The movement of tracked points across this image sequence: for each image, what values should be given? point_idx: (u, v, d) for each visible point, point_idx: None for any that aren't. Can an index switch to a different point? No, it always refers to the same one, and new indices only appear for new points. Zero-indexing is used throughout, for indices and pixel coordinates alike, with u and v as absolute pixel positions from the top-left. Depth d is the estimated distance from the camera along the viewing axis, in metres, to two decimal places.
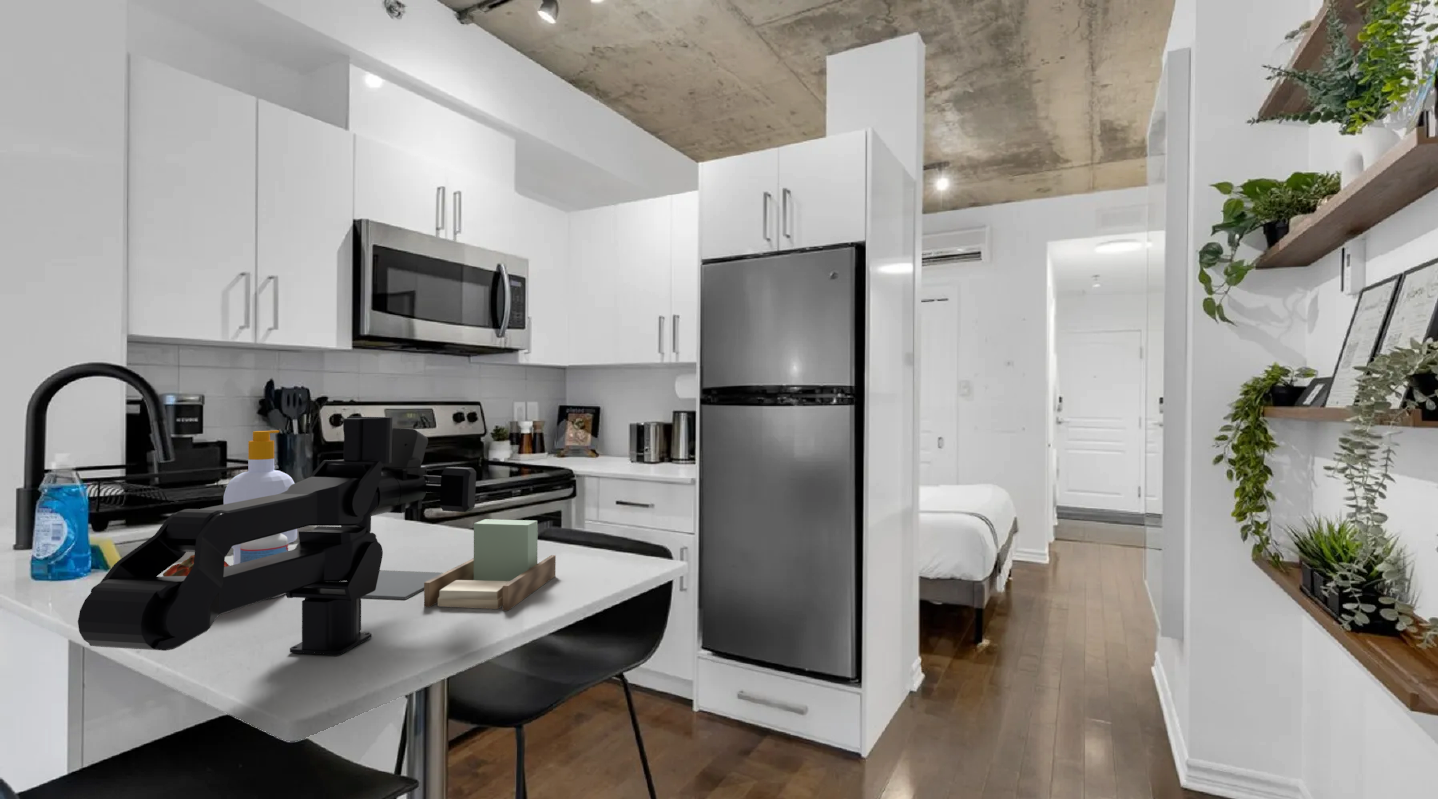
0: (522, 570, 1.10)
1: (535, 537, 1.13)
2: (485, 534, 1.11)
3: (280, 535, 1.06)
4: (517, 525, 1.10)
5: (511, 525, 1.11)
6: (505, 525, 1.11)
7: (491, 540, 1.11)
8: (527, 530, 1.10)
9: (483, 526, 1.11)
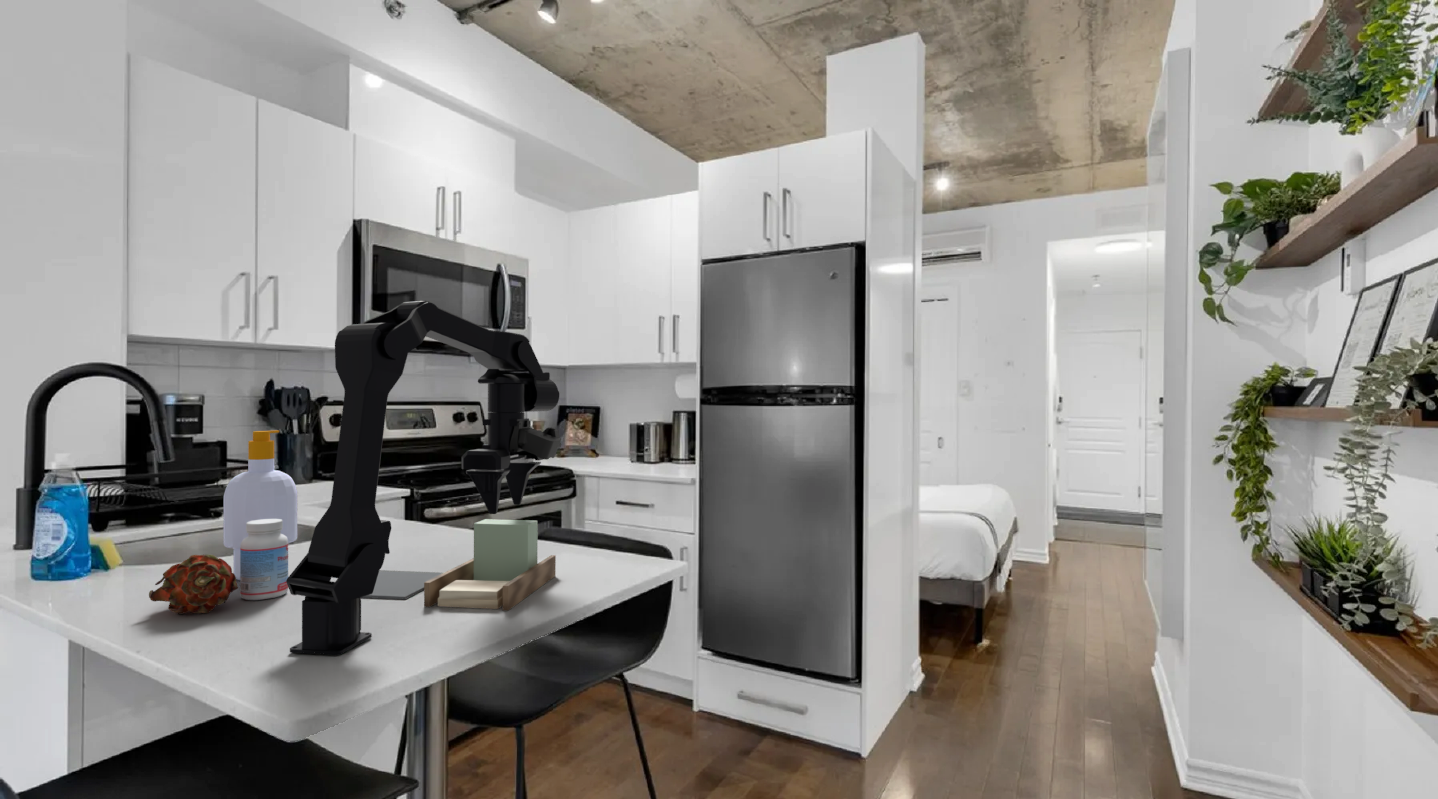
0: (522, 570, 1.10)
1: (535, 537, 1.13)
2: (485, 534, 1.11)
3: (280, 535, 1.06)
4: (517, 525, 1.10)
5: (511, 525, 1.11)
6: (505, 525, 1.11)
7: (491, 540, 1.11)
8: (527, 530, 1.10)
9: (483, 526, 1.11)
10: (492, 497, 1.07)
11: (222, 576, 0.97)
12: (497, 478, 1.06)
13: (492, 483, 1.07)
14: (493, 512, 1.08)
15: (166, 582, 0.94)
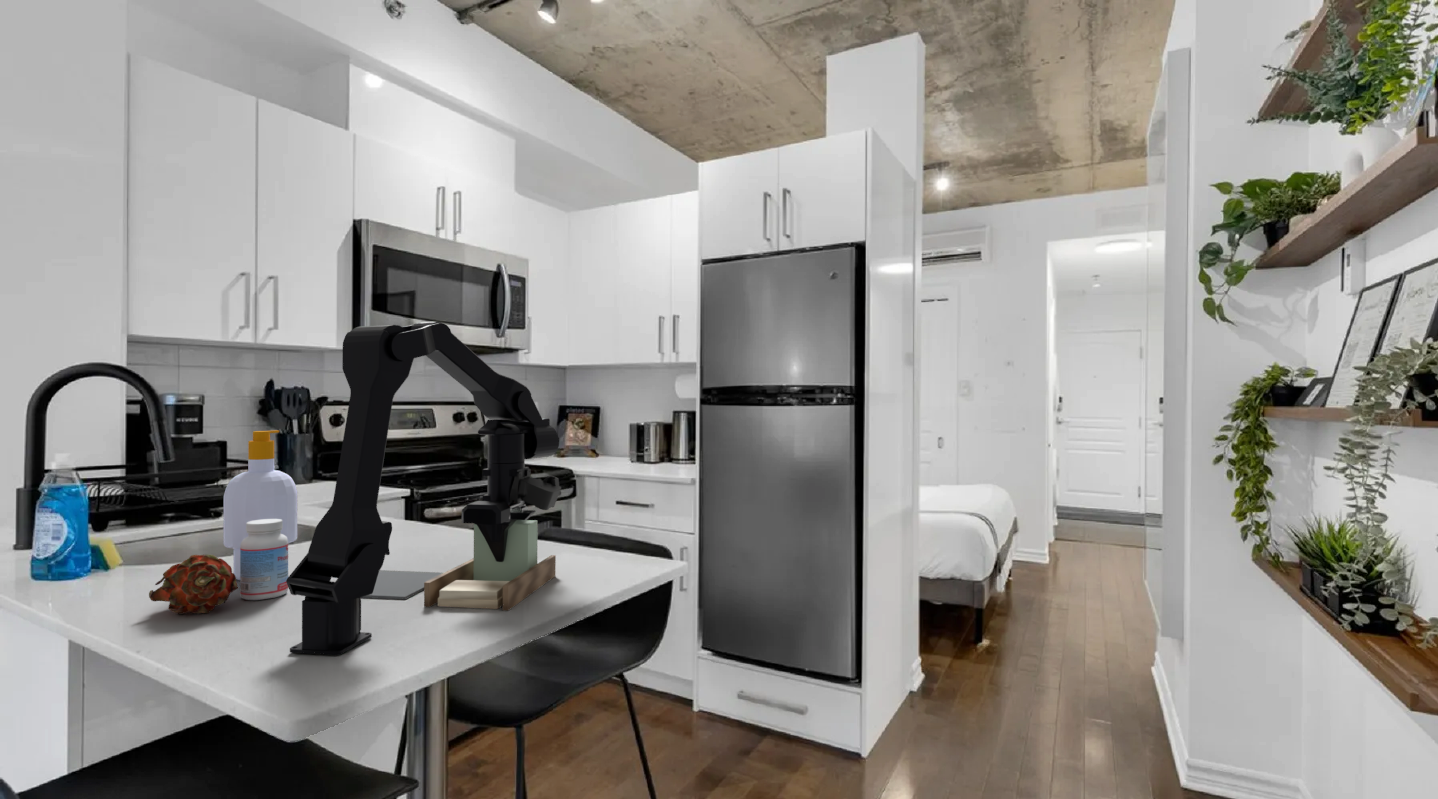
0: (521, 569, 1.10)
1: (535, 537, 1.13)
2: None
3: (280, 535, 1.06)
4: (517, 525, 1.10)
5: None
6: None
7: None
8: (527, 530, 1.10)
9: None
10: (499, 546, 1.10)
11: (222, 576, 0.97)
12: (504, 528, 1.08)
13: (499, 532, 1.09)
14: (500, 560, 1.10)
15: (166, 582, 0.94)
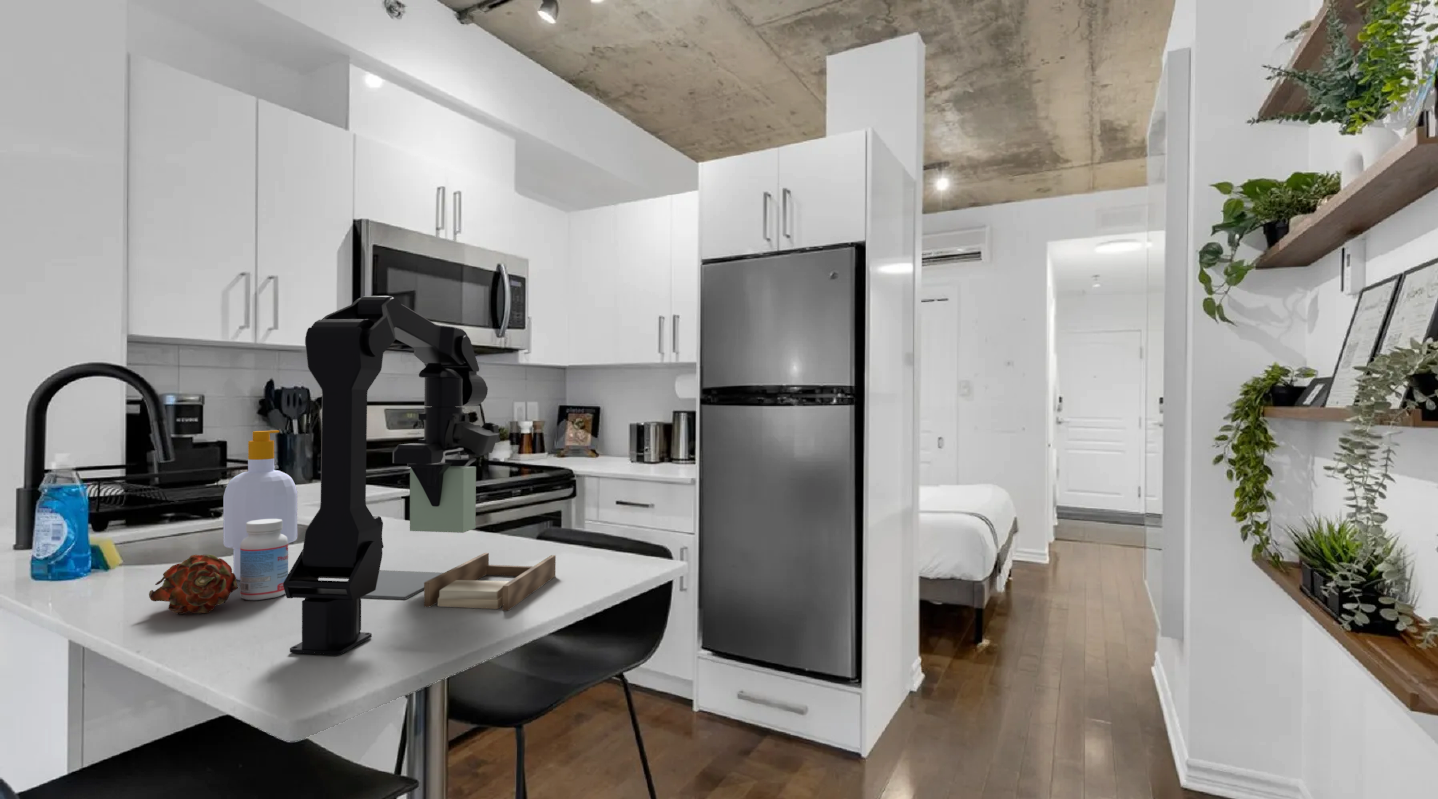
0: (457, 514, 1.09)
1: (473, 483, 1.12)
2: None
3: (280, 535, 1.06)
4: (453, 469, 1.10)
5: (447, 469, 1.10)
6: None
7: None
8: (463, 474, 1.09)
9: None
10: (434, 490, 1.09)
11: (222, 576, 0.97)
12: (438, 471, 1.07)
13: (434, 476, 1.08)
14: (435, 504, 1.09)
15: (166, 582, 0.94)
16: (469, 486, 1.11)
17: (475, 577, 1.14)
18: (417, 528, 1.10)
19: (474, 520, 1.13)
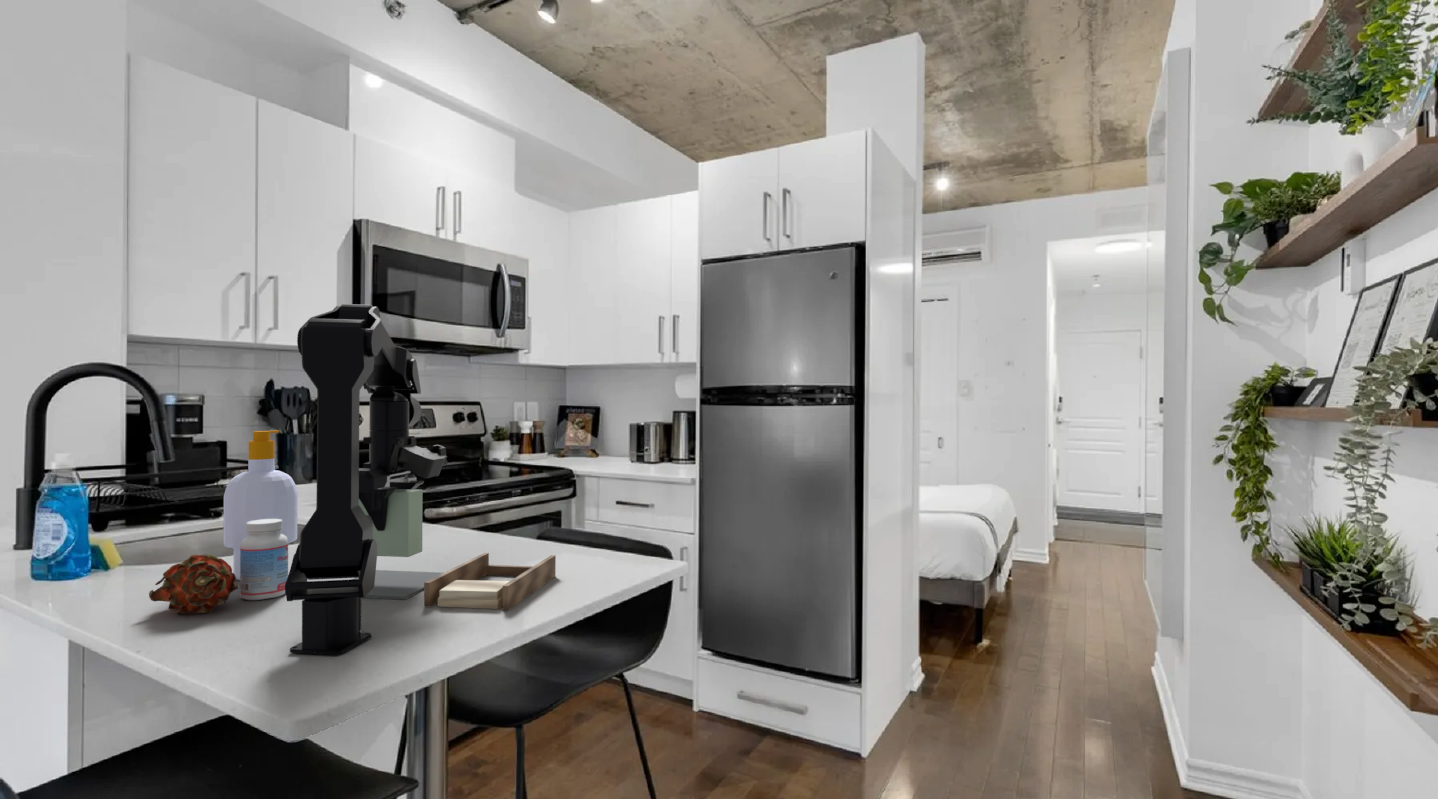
0: (402, 538, 1.09)
1: (419, 506, 1.12)
2: None
3: (280, 535, 1.06)
4: (398, 493, 1.09)
5: (392, 493, 1.09)
6: None
7: None
8: (408, 498, 1.09)
9: None
10: (379, 514, 1.08)
11: (222, 576, 0.97)
12: (382, 495, 1.07)
13: (378, 500, 1.08)
14: (380, 529, 1.09)
15: (166, 582, 0.94)
16: (415, 510, 1.11)
17: (475, 577, 1.14)
18: None
19: (421, 543, 1.12)
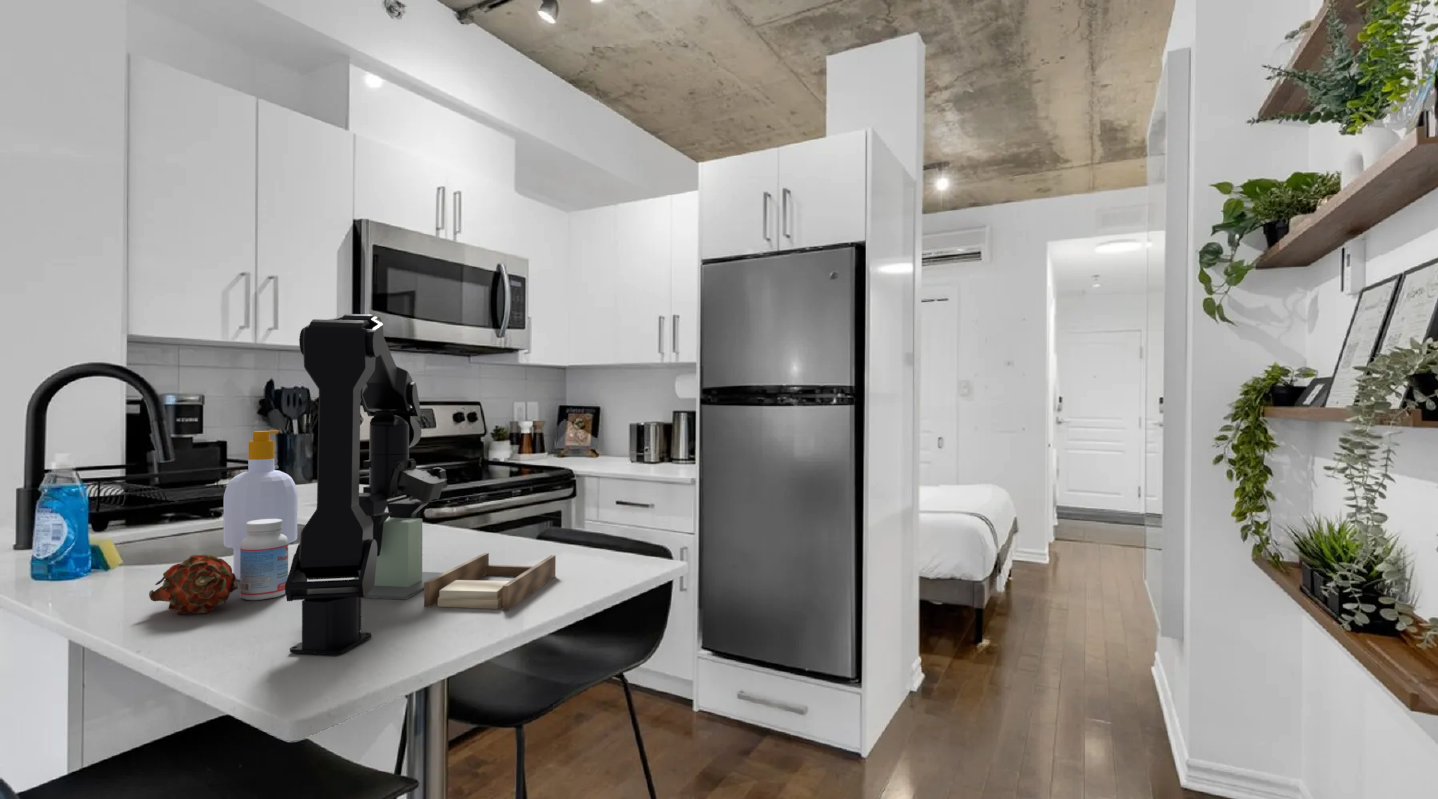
0: (402, 568, 1.09)
1: (419, 535, 1.12)
2: None
3: (280, 535, 1.06)
4: (398, 523, 1.09)
5: (392, 523, 1.09)
6: (386, 523, 1.09)
7: None
8: (408, 528, 1.09)
9: None
10: None
11: (222, 576, 0.97)
12: (377, 521, 1.06)
13: (373, 526, 1.07)
14: None
15: (166, 582, 0.94)
16: (415, 539, 1.11)
17: (475, 577, 1.14)
18: None
19: (421, 572, 1.12)
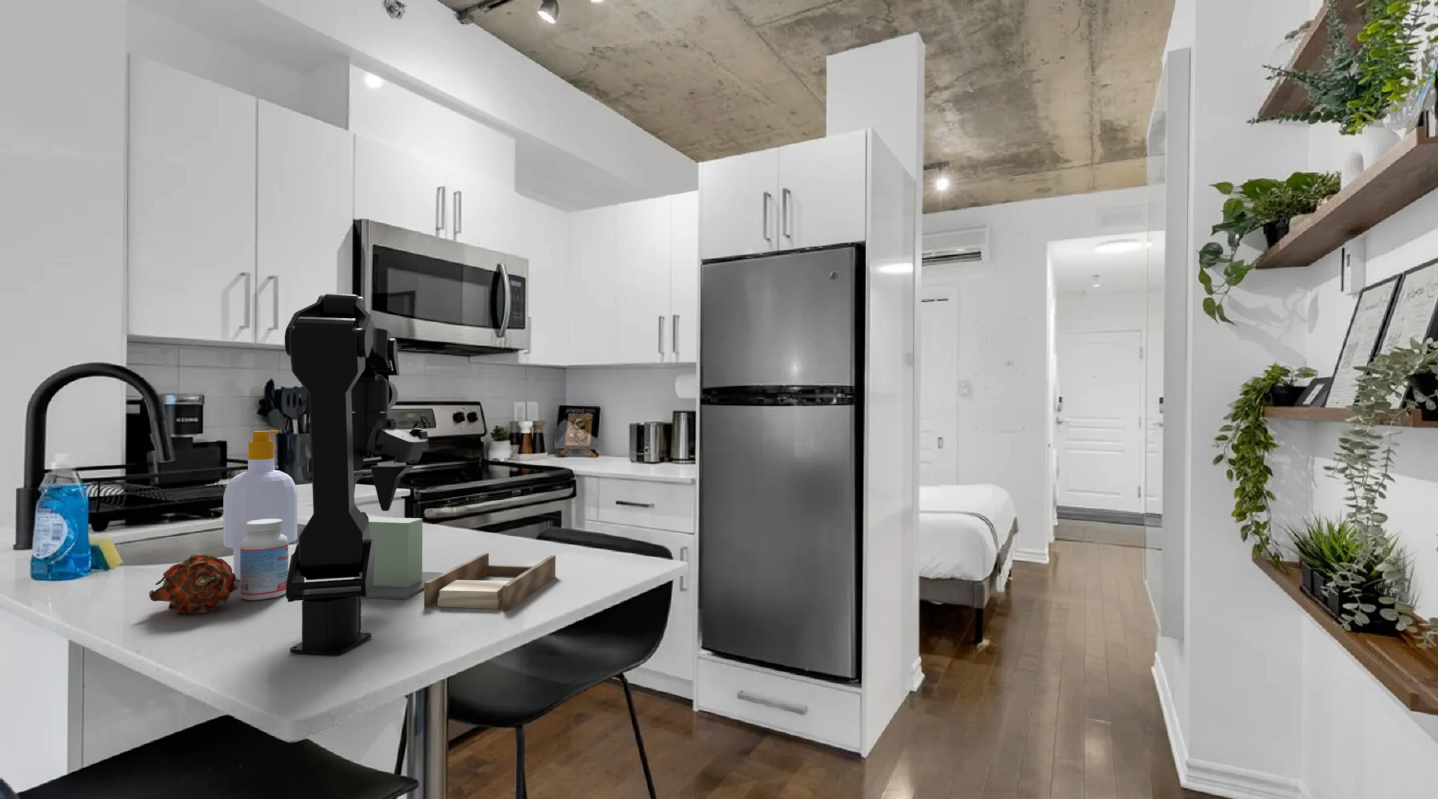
0: (402, 568, 1.09)
1: (419, 535, 1.12)
2: None
3: (280, 535, 1.06)
4: (398, 523, 1.09)
5: (392, 523, 1.09)
6: (386, 523, 1.09)
7: (372, 538, 1.10)
8: (408, 528, 1.09)
9: None
10: None
11: (222, 576, 0.97)
12: None
13: None
14: None
15: (166, 582, 0.94)
16: (415, 539, 1.11)
17: (475, 577, 1.14)
18: None
19: (421, 572, 1.12)
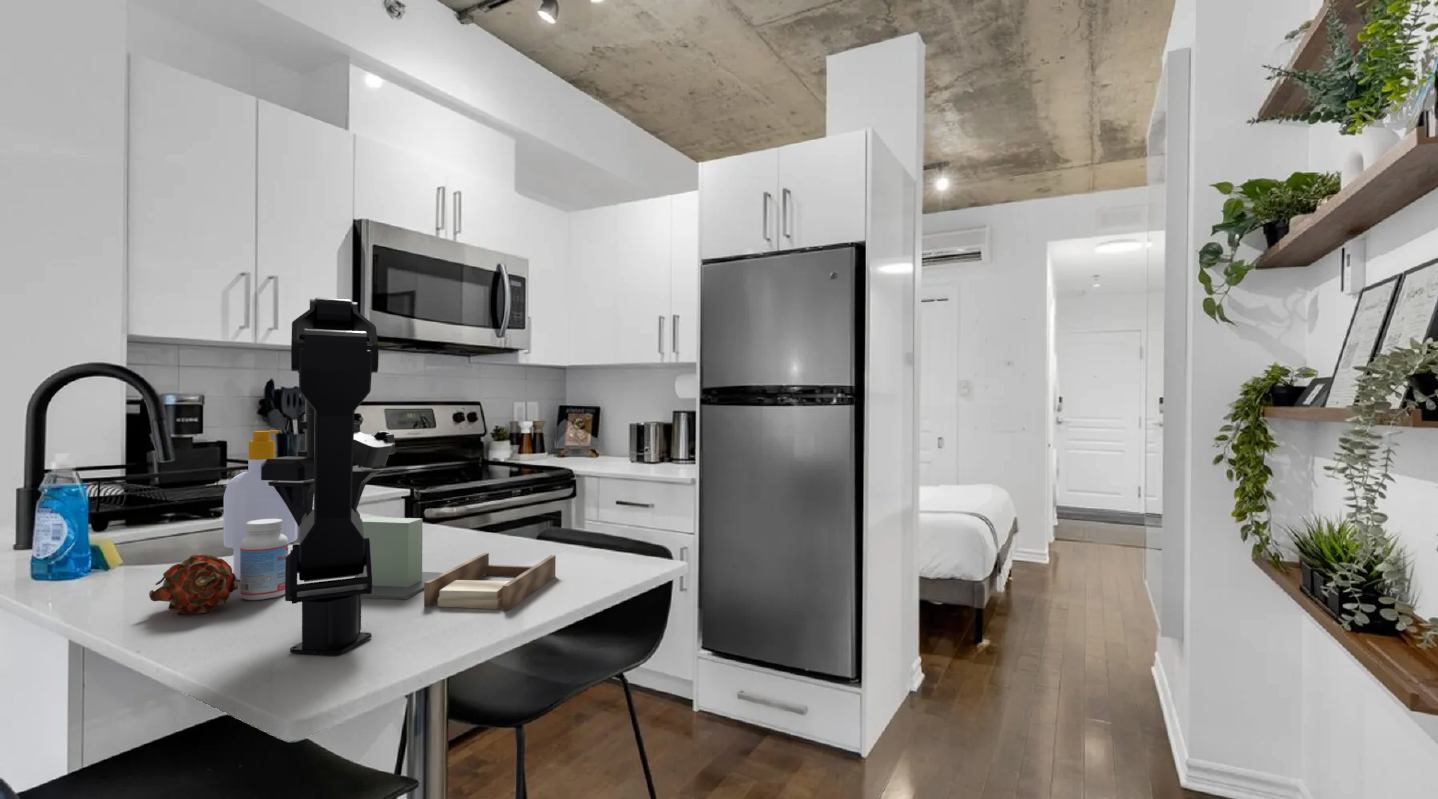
0: (402, 568, 1.09)
1: (419, 535, 1.12)
2: (366, 532, 1.10)
3: (280, 535, 1.06)
4: (398, 523, 1.09)
5: (392, 523, 1.09)
6: (386, 523, 1.09)
7: (372, 538, 1.10)
8: (408, 528, 1.09)
9: (364, 524, 1.10)
10: (302, 512, 0.93)
11: (222, 576, 0.97)
12: (305, 490, 0.92)
13: (301, 496, 0.93)
14: None
15: (166, 582, 0.94)
16: (415, 539, 1.11)
17: (475, 577, 1.14)
18: None
19: (421, 572, 1.12)
